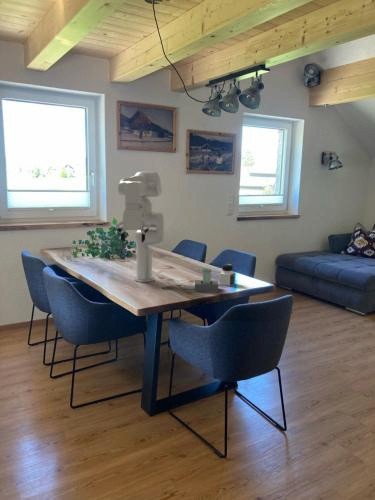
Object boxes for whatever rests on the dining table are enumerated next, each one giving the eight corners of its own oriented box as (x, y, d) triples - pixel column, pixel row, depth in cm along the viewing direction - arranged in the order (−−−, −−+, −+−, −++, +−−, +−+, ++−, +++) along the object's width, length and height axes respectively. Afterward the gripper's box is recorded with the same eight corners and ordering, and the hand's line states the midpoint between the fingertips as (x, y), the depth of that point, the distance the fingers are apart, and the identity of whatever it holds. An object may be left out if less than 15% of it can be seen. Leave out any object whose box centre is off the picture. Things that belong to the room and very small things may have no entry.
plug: (202, 288, 228) (202, 268, 226) (210, 288, 228) (211, 268, 226) (202, 291, 224) (202, 270, 222) (210, 291, 224) (211, 270, 222)
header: (195, 287, 231) (195, 280, 230) (217, 288, 230) (217, 280, 229) (194, 291, 222) (195, 284, 221) (218, 292, 221) (218, 284, 221)
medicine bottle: (230, 286, 235) (230, 266, 233) (219, 284, 238) (219, 265, 236) (234, 283, 241) (235, 264, 239) (223, 282, 244) (224, 263, 242)
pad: (183, 285, 234) (183, 285, 234) (195, 286, 234) (195, 285, 234) (182, 289, 227) (182, 288, 227) (195, 289, 227) (195, 288, 227)
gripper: (151, 207, 198) (151, 240, 201) (117, 206, 199) (117, 240, 202) (149, 208, 191) (149, 243, 194) (113, 207, 192) (114, 242, 195)
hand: (133, 241), depth 198 cm, fingers open, 9 cm apart
